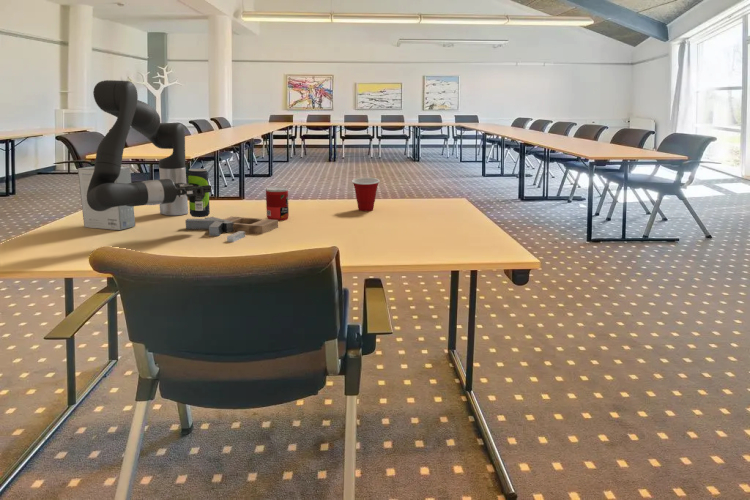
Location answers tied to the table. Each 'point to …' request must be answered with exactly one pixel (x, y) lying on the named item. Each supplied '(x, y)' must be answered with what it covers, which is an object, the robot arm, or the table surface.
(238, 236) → the bar
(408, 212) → the table surface
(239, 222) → the wooden rectangular frame
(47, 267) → the table surface
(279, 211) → the canned food
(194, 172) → the beverage can
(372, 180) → the plastic cup
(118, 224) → the hard drive box
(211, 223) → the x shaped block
